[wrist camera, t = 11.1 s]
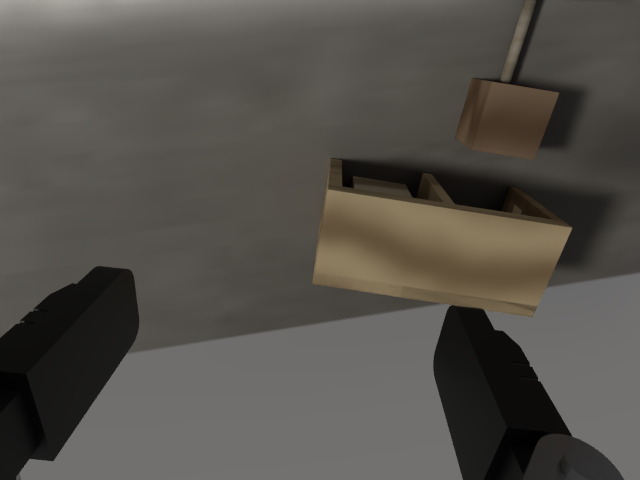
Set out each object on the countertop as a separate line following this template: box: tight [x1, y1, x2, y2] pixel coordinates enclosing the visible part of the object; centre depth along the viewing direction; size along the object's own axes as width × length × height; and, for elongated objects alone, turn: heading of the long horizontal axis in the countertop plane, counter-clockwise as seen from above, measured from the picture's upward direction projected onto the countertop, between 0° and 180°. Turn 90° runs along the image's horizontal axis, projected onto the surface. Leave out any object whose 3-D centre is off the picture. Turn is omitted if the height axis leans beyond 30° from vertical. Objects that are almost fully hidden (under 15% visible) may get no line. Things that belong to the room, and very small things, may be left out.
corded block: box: [455, 0, 559, 160], centre depth 29 cm, size 14×5×6 cm, turn 172°
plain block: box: [351, 176, 412, 197], centre depth 35 cm, size 5×5×5 cm
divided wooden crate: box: [312, 158, 572, 317], centre depth 33 cm, size 8×17×9 cm, turn 82°
